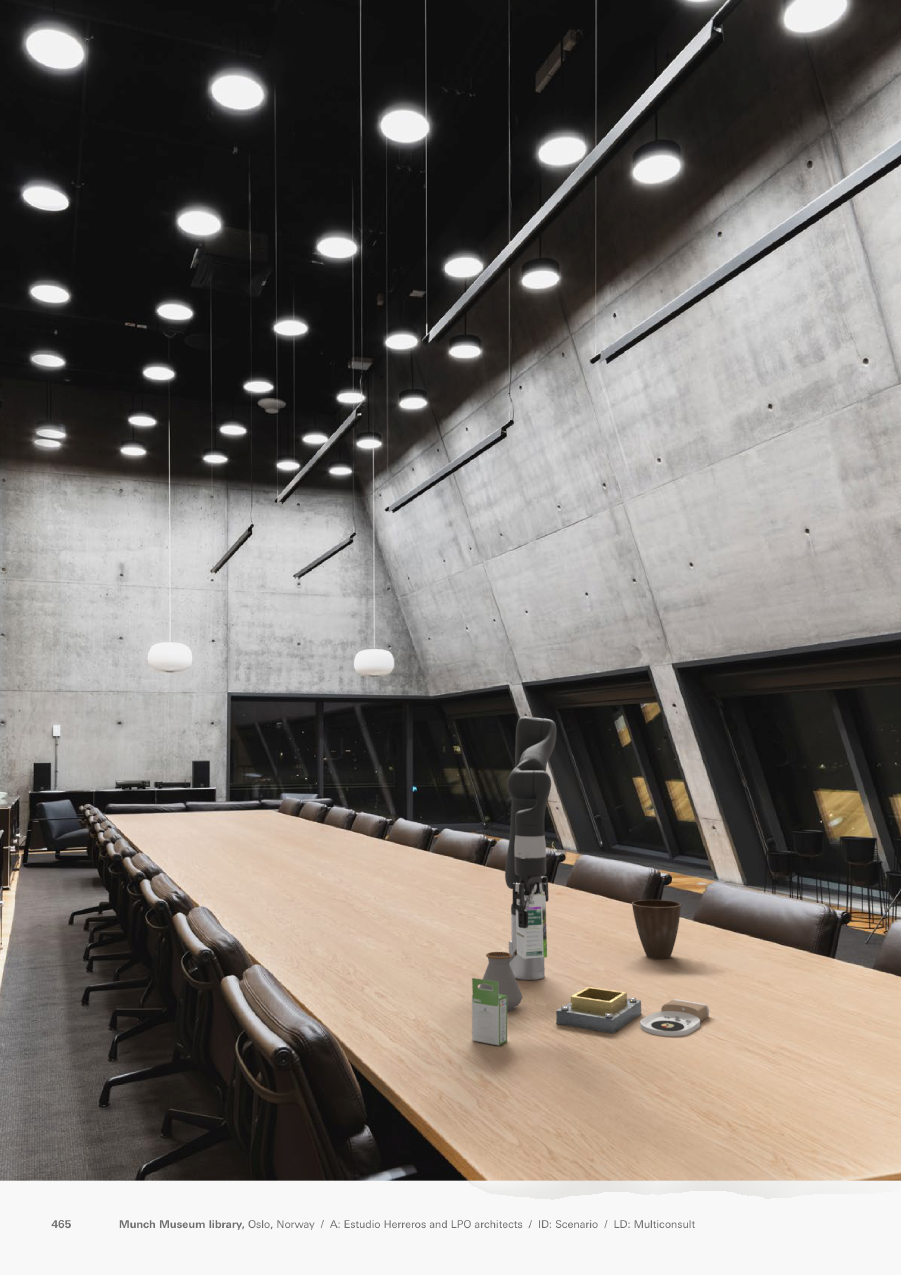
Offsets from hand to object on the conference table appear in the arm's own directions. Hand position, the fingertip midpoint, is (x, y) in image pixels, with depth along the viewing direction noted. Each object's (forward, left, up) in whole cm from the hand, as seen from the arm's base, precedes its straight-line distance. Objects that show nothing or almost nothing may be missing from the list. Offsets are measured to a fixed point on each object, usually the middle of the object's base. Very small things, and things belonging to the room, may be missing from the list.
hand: (531, 924), depth 209 cm
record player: (+28, +16, -23) cm, 40 cm away
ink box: (-2, -17, -23) cm, 28 cm away
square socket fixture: (+12, +11, -22) cm, 28 cm away
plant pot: (+2, +81, -23) cm, 84 cm away
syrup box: (0, 0, -7) cm, 7 cm away
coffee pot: (-12, +11, -23) cm, 28 cm away
